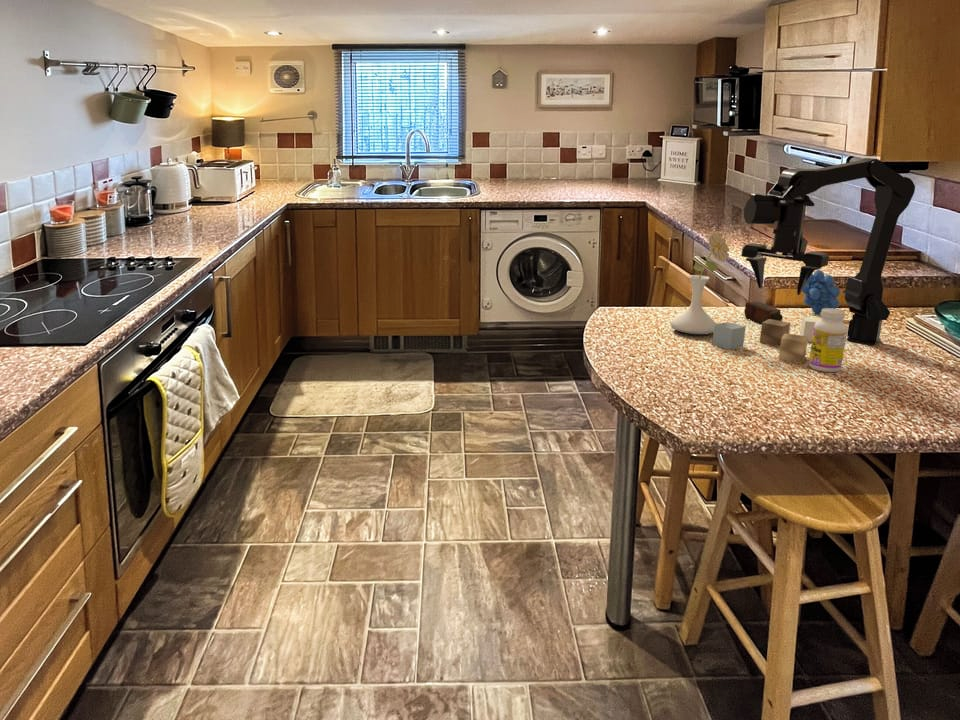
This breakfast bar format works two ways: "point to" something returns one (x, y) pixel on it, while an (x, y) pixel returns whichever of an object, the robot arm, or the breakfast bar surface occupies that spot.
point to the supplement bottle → (828, 341)
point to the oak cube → (793, 347)
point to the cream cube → (808, 327)
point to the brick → (761, 312)
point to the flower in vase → (695, 316)
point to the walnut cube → (773, 331)
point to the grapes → (821, 292)
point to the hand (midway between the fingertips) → (779, 291)
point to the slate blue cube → (728, 335)
